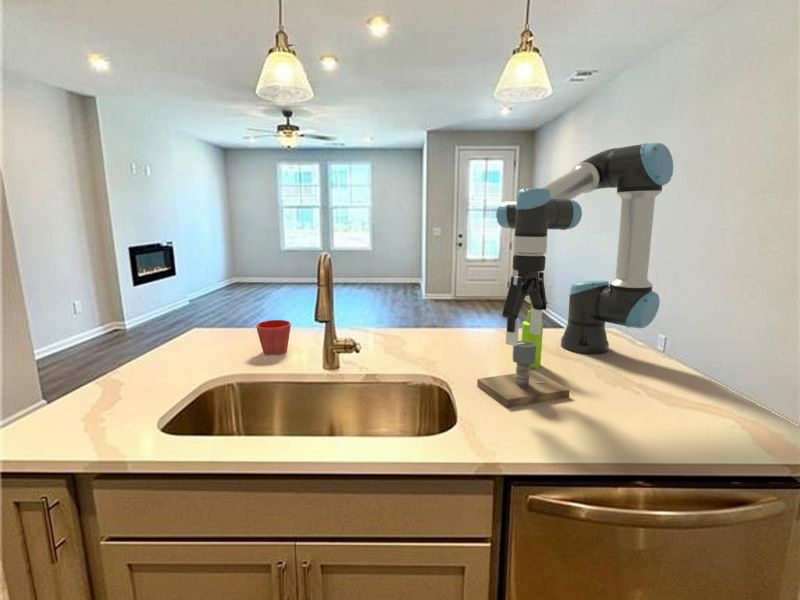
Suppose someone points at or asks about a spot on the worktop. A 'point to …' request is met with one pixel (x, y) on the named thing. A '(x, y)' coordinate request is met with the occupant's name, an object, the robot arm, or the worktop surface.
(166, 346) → the worktop surface
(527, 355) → the knob
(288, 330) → the flower pot
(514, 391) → the wooden board with bolt
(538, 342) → the soap dispenser
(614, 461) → the worktop surface
